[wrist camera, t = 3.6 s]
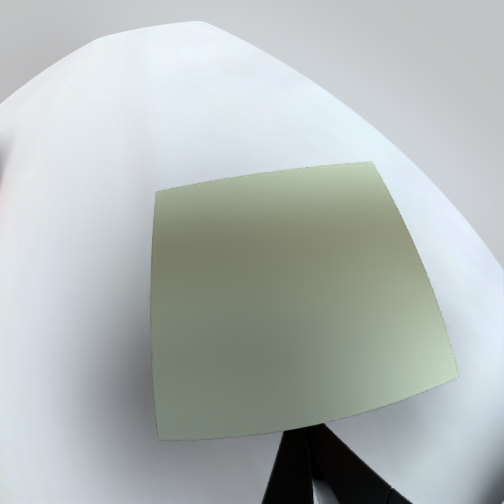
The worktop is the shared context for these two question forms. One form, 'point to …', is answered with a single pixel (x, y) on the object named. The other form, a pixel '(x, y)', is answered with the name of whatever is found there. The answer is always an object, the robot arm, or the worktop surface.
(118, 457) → the worktop surface
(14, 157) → the worktop surface
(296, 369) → the green and tan block
